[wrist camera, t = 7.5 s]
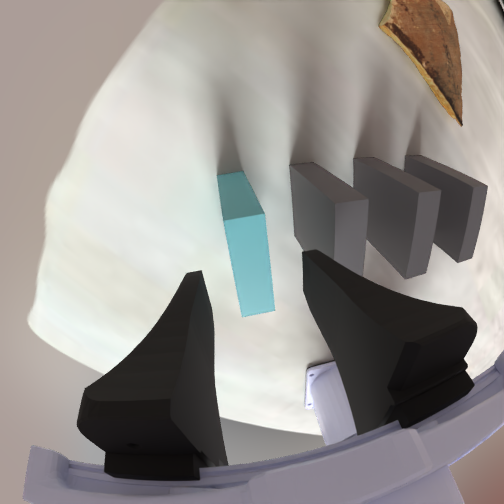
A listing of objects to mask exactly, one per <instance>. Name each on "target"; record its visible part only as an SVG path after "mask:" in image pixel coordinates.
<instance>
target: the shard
mask: <svg viewBox="0 0 504 504" xmlns="http://www.w3.org/2000/svg"><path fill="white" fill-rule="evenodd" d="M379 27H380V29H381V30H382V31H383V32H384V33H386V34H387V35H388V36H390V37H391V38H392V39H393V40H394V41H395V42H396V43H397V44H398V45H399V46H400V47H402V48H403V50H404V52H405V53H406V54H407V55H408V56H409V57H410V59H411V60H412V61H413V63H414V64H415V65H416V67H417V68H418V70H419V72H420V74H421V75H422V76H423V78H424V79H425V81H426V82H427V83H428V85H429V87H430V88H431V90H432V91H433V92H434V94H435V96H436V97H437V99H438V101H439V102H440V103H441V105H442V106H443V107H444V108H445V109H446V111H447V112H448V114H449V115H450V116H451V117H453V118H454V119H456V121H457V122H458V124H459V125H460V126H461V127H462V126H463V123H462V96H461V93H462V87H461V85H462V67H461V60H460V57H461V54H460V47H459V42H458V34H457V29H456V26H455V23H454V17H453V13H452V10H451V9H450V8H449V6H448V5H447V4H446V3H444V2H443V1H441V0H390V4H389V7H388V10H387V12H386V14H385V15H384V17H383V19H382V21H381V22H380V24H379Z"/></svg>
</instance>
